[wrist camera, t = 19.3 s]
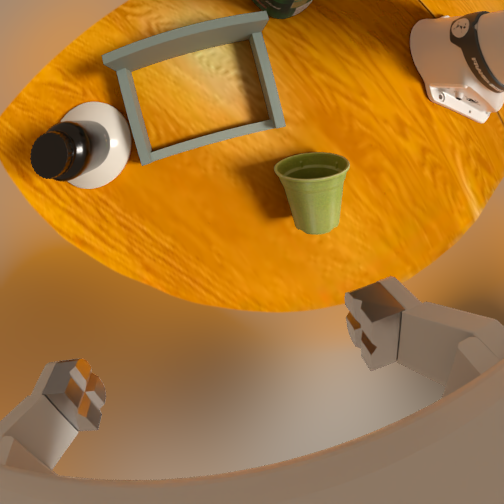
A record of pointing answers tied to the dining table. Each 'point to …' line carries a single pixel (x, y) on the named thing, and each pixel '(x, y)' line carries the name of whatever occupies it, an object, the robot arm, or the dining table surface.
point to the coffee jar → (282, 7)
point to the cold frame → (188, 42)
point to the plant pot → (314, 189)
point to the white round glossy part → (118, 142)
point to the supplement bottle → (70, 150)
